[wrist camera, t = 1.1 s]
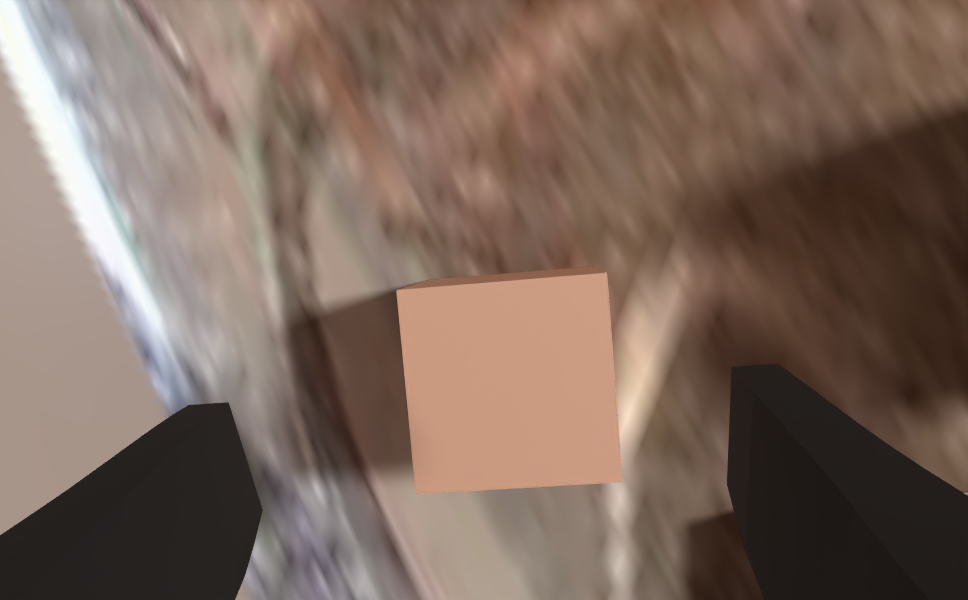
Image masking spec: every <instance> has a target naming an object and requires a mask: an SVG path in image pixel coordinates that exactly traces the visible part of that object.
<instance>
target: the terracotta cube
mask: <svg viewBox="0 0 968 600" xmlns="http://www.w3.org/2000/svg"><path fill="white" fill-rule="evenodd" d="M396 292H397V302H398V313H399V323H400V334H401V345H402V355H403V366H404V376H405V387H406V397H407V408H408V419H409V429H410V440H411V450H412V461H413V472H414V482H415V493H416V494H426V493H443V492H460V491H478V490H495V489H512V488H529V487H547V486H564V485H581V484H599V483H616V482H623V481H622V468H621V454H620V441H619V428H618V414H617V401H616V388H615V374H614V361H613V348H612V334H611V321H610V308H609V294H608V281H607V273H606V272H604V271H602V270H600V269H598V268H596V267H594V266H590V267H578V268H566V269H554V270H542V271H530V272H518V273H506V274H494V275H482V276H470V277H458V278H446V279H434V280H427V281H424V282H420V283H417V284H414V285H411V286H408V287H405V288H401V289H398V290H396Z"/></svg>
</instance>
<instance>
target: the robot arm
mask: <svg viewBox="0 0 968 600" xmlns="http://www.w3.org/2000/svg"><path fill="white" fill-rule="evenodd" d="M727 486H728V490H729V494H730V497H731V501H732V505H733V509H734V513H735V517H736V520H737V524H738V528H739V531H740V535H741V538H742V542H743V546H744V549H745V552H746V554H747V557H748V559H749V562H750V564H751V567H752V569H753V572H754V574H755V577H756V579H757V582H758V584H759V586H760V589H761V591H762V594H763V596H764V599H765V600H968V495H966V494H964V493H963V492H961V491H959V490H958V489H956V488H955V487H953V486H951V485H950V484H948V483H947V482H945V481H943V480H942V479H940V478H939V477H937V476H935V475H934V474H932V473H931V472H929V471H928V470H926V469H924V468H923V467H921V466H920V465H918V464H917V463H915V462H914V461H912V460H911V459H909V458H908V457H906V456H905V455H903V454H902V453H900V452H899V451H897V450H896V449H894V448H893V447H891V446H890V445H888V444H887V443H885V442H884V441H883V440H881V439H880V438H878V437H877V436H875V435H874V434H873V433H871V432H870V431H868V430H867V429H866V428H864V427H863V426H861V425H860V424H859V423H857V422H856V421H854V420H853V419H852V418H850V417H849V416H848V415H846V414H845V413H843V412H842V411H841V410H839V409H838V408H837V407H835V406H834V405H833V404H831V403H830V402H829V401H827V400H826V399H825V398H823V397H822V396H821V395H819V394H818V393H817V392H815V391H814V390H813V389H811V388H810V387H809V386H807V385H806V384H805V383H803V382H802V381H801V380H799V379H798V378H797V377H795V376H794V375H793V374H791V373H790V372H788V371H787V370H786V369H784V368H783V367H781V366H780V365H778V364H769V365H755V366H741V367H732V374H731V398H730V423H729V447H728V472H727ZM261 514H262V507H261V504H260V501H259V497H258V494H257V491H256V488H255V485H254V482H253V478H252V475H251V472H250V469H249V466H248V463H247V459H246V456H245V453H244V450H243V447H242V444H241V440H240V437H239V434H238V431H237V428H236V425H235V422H234V418H233V415H232V412H231V409H230V406H229V403H213V404H199V405H188V406H187V407H185V408H183V409H182V410H180V411H178V412H177V413H175V414H173V415H172V416H170V417H169V418H167V419H166V420H164V421H163V422H161V423H160V424H158V425H157V426H156V427H154V428H153V429H151V430H150V431H148V432H147V433H146V434H144V435H143V436H141V437H140V438H139V439H138V440H136V441H134V442H133V443H132V444H130V445H129V446H128V447H126V448H125V449H123V450H122V451H121V452H119V453H118V454H117V455H115V456H114V457H112V458H111V459H110V460H108V461H107V462H105V463H104V464H103V465H101V466H100V467H98V468H97V469H96V470H94V471H93V472H92V473H90V474H89V475H87V476H86V477H85V478H83V479H82V480H80V481H79V482H78V483H76V484H75V485H74V486H72V487H71V488H69V489H68V490H67V491H65V492H64V493H62V494H61V495H59V496H58V497H56V498H55V499H53V500H52V501H51V502H49V503H47V504H46V505H45V506H43V507H42V508H40V509H39V510H37V511H36V512H34V513H33V514H31V515H30V516H28V517H27V518H25V519H24V520H22V521H21V522H19V523H18V524H16V525H15V526H13V527H12V528H10V529H9V530H7V531H6V532H5V533H3V534H2V535H0V600H235V598H236V596H237V594H238V591H239V589H240V586H241V584H242V581H243V579H244V576H245V574H246V570H247V567H248V563H249V560H250V556H251V553H252V550H253V546H254V542H255V538H256V534H257V530H258V526H259V522H260V518H261Z"/></svg>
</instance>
